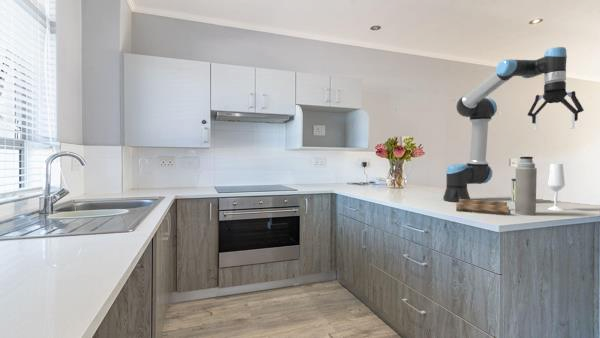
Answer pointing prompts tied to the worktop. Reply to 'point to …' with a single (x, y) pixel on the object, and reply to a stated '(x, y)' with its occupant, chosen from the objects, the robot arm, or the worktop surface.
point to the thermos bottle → (525, 187)
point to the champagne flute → (556, 182)
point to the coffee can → (513, 189)
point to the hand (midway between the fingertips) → (553, 129)
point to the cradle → (482, 207)
